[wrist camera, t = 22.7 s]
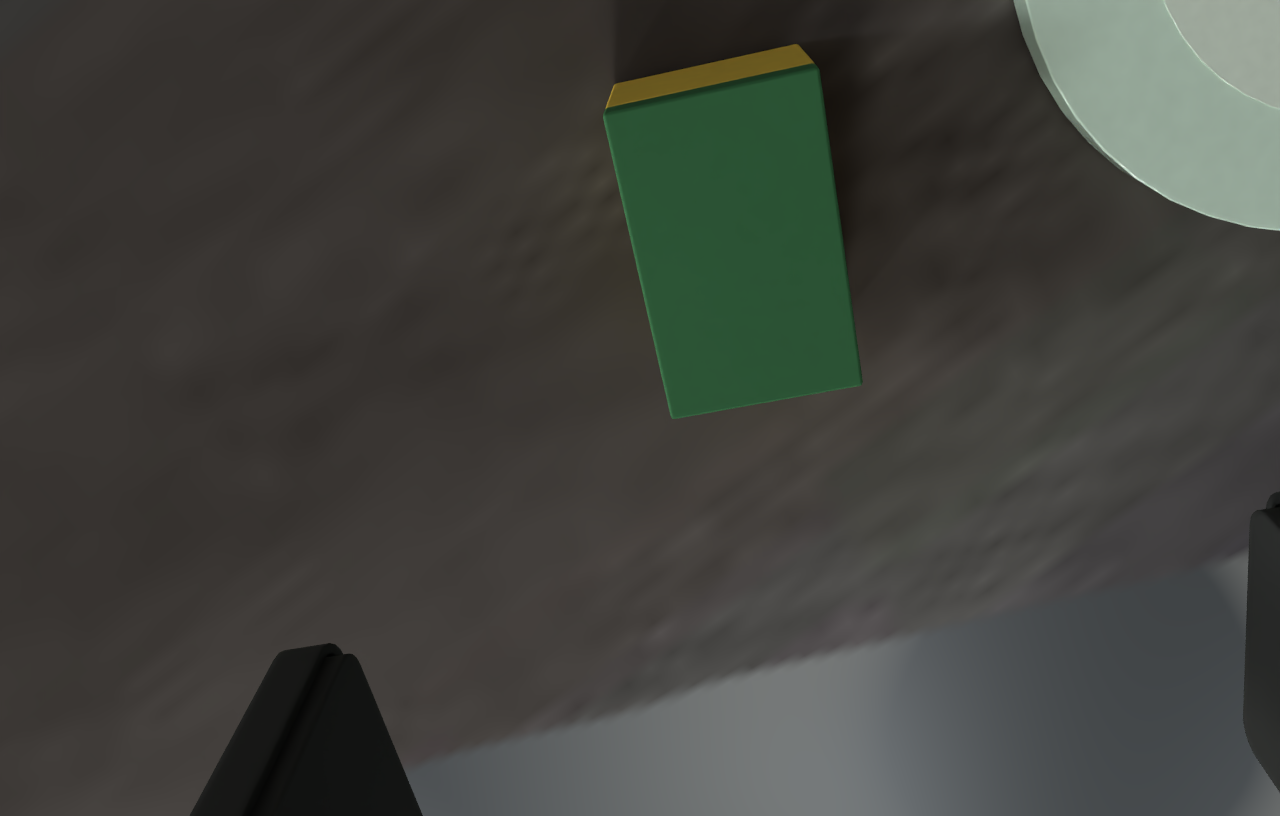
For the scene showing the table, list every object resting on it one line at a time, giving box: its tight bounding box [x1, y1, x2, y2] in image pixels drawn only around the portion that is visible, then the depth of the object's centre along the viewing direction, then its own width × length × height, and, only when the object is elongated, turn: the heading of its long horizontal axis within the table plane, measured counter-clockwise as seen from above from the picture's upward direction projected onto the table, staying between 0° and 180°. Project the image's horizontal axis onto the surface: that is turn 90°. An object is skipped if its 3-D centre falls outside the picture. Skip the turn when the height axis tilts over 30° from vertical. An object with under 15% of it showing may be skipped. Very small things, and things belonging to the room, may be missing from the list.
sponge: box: [603, 44, 863, 419], centre depth 27 cm, size 8×5×4 cm, turn 12°
